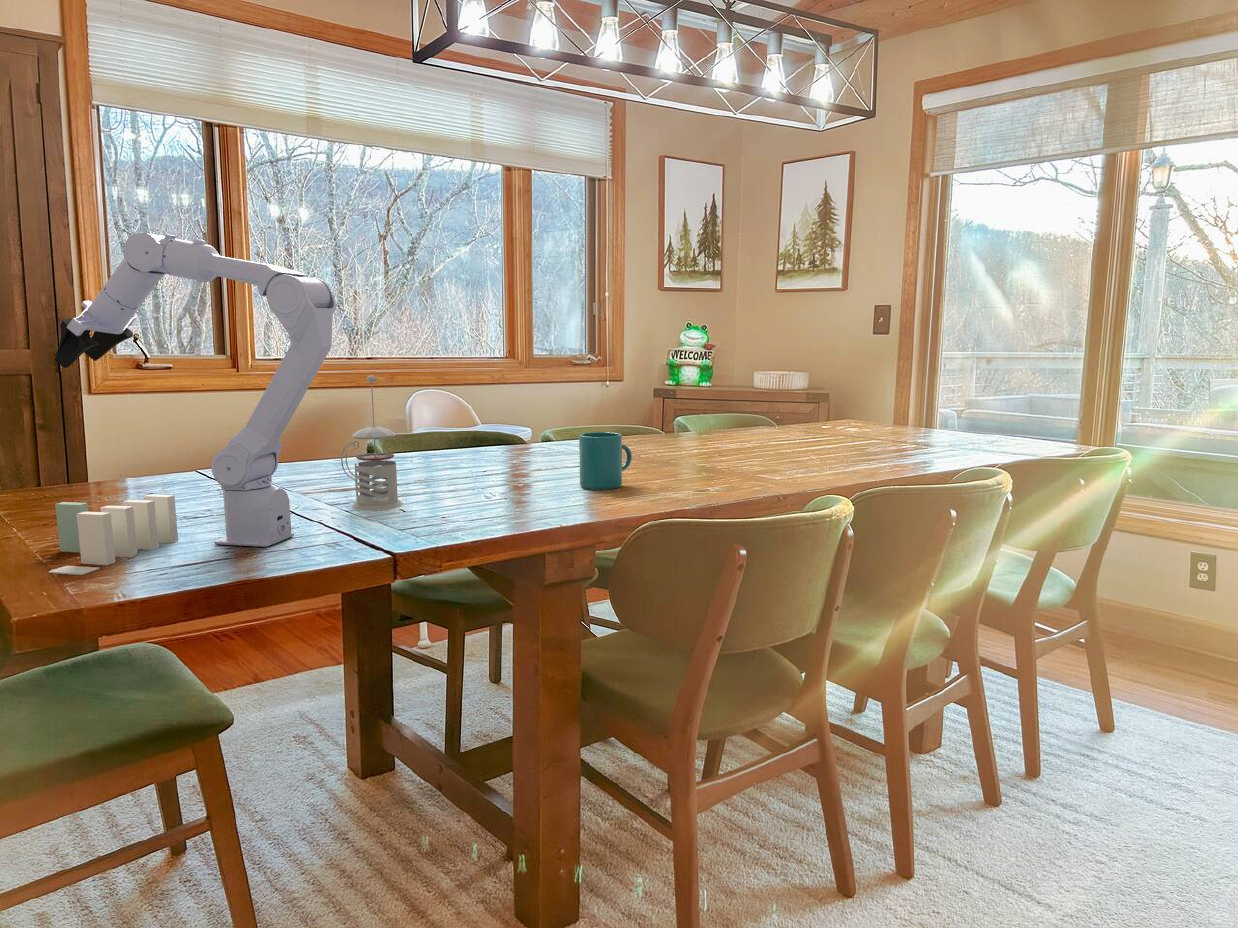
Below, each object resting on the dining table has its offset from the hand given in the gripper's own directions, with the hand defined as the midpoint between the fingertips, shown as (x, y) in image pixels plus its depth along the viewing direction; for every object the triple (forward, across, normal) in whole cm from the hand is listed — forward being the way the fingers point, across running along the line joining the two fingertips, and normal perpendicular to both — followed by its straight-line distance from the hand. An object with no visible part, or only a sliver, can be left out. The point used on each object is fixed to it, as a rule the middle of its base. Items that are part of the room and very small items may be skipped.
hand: (76, 360), depth 144 cm
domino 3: (+12, +16, +28) cm, 34 cm away
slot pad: (+12, +24, +26) cm, 38 cm away
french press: (-3, -22, +50) cm, 55 cm away
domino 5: (+12, +7, +30) cm, 33 cm away
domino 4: (+12, +11, +29) cm, 33 cm away
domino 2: (+12, +20, +27) cm, 36 cm away
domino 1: (+18, +13, +22) cm, 31 cm away
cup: (-31, -43, +84) cm, 100 cm away
